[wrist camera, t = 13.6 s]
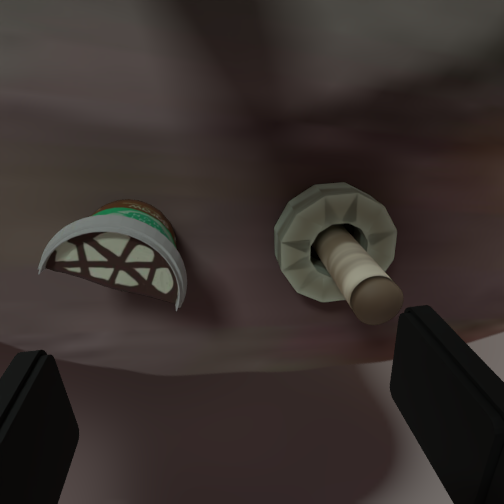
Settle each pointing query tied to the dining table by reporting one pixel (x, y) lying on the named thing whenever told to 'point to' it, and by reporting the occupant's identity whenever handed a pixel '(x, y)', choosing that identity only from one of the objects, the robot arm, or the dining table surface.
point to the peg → (358, 276)
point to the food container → (122, 251)
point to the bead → (318, 219)
